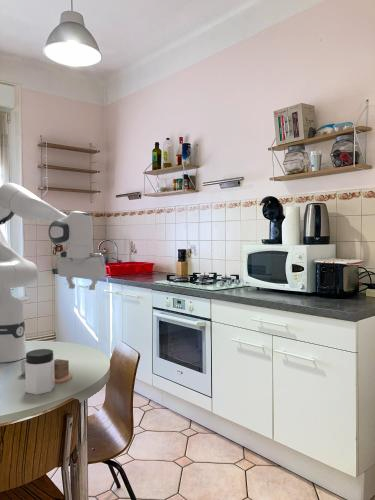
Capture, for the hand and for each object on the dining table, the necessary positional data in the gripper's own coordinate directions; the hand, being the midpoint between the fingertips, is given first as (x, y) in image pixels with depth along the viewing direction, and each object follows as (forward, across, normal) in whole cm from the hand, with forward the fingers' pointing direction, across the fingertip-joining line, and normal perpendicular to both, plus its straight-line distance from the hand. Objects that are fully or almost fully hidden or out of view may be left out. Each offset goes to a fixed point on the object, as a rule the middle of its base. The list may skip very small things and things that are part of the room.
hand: (81, 289), depth 157 cm
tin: (+29, +10, +18) cm, 35 cm away
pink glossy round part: (+28, -3, +18) cm, 34 cm away
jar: (+29, -5, +28) cm, 40 cm away
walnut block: (+28, -3, +18) cm, 33 cm away
